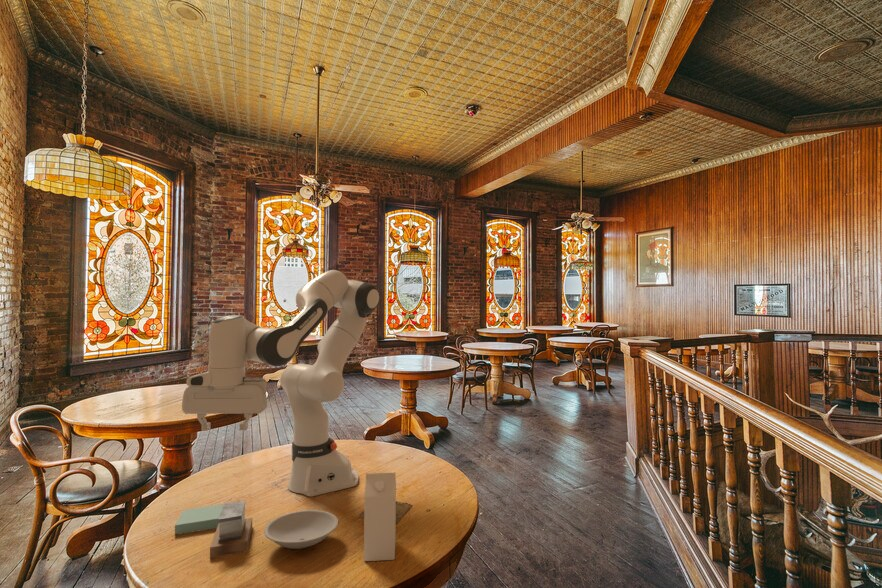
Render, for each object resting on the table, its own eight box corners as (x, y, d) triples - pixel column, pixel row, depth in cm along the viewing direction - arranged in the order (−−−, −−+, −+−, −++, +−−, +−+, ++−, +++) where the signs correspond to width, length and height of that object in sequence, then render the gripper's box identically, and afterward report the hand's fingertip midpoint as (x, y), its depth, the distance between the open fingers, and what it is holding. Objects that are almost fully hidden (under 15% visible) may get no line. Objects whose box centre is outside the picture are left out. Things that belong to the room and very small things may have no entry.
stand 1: (227, 512, 116) (227, 503, 116) (222, 527, 109) (222, 517, 109) (183, 519, 112) (183, 509, 112) (174, 534, 105) (174, 525, 105)
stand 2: (252, 527, 109) (252, 517, 109) (247, 551, 98) (247, 541, 98) (218, 532, 106) (218, 523, 106) (209, 558, 96) (209, 547, 96)
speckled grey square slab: (356, 519, 113) (356, 515, 113) (377, 499, 125) (377, 496, 125) (395, 528, 109) (395, 524, 109) (413, 506, 121) (413, 503, 121)
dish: (254, 565, 93) (254, 544, 93) (274, 530, 107) (274, 511, 107) (332, 562, 94) (332, 540, 95) (342, 527, 109) (342, 508, 109)
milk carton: (366, 543, 102) (367, 467, 102) (395, 542, 102) (395, 466, 102) (363, 562, 95) (364, 480, 95) (394, 560, 95) (395, 479, 95)
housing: (245, 521, 107) (245, 500, 107) (241, 538, 99) (241, 515, 99) (224, 525, 105) (224, 503, 105) (218, 542, 98) (218, 519, 98)
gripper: (271, 375, 111) (269, 426, 111) (192, 375, 109) (190, 426, 109) (263, 379, 105) (261, 433, 104) (179, 379, 103) (177, 434, 102)
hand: (224, 430), depth 106 cm, fingers open, 8 cm apart
